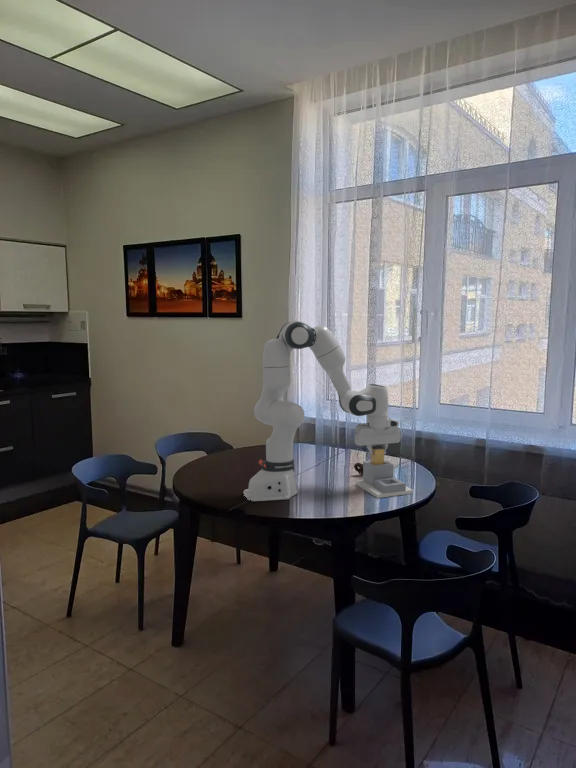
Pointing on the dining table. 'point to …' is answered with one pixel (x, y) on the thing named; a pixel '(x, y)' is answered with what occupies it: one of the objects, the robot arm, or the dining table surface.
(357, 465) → the pottery mug
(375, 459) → the plug
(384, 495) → the square socket stand
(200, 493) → the dining table surface
